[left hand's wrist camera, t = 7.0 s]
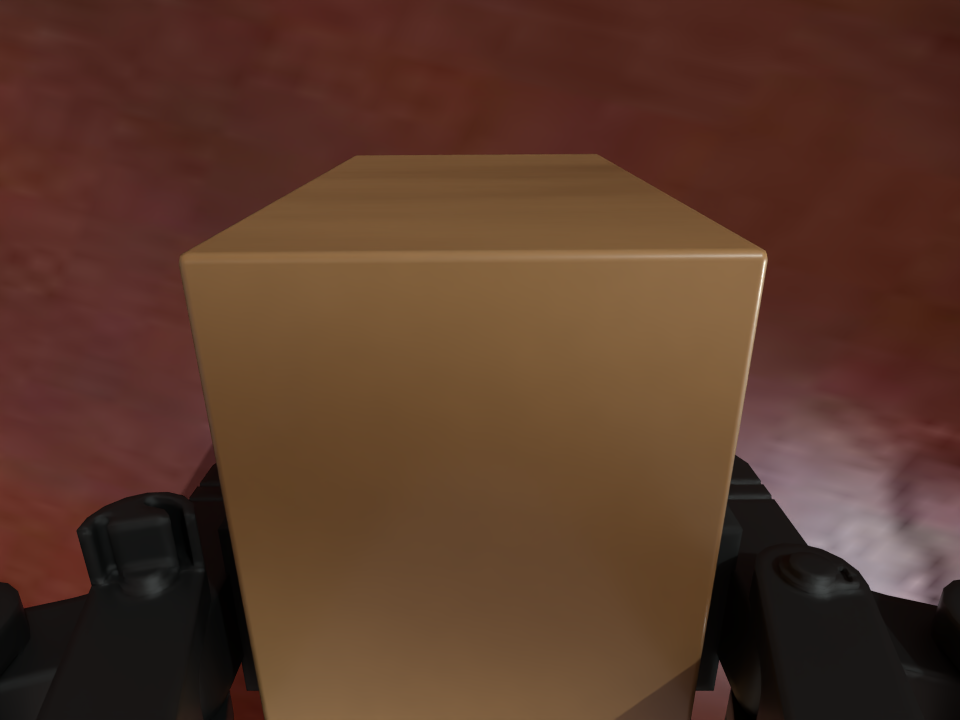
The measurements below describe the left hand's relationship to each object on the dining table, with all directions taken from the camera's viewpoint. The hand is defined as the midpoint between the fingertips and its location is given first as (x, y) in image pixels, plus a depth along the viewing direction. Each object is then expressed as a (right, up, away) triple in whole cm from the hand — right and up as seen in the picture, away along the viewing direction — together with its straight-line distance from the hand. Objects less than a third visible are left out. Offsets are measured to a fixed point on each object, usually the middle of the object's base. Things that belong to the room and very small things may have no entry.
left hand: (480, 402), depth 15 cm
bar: (0, -25, +11) cm, 28 cm away
